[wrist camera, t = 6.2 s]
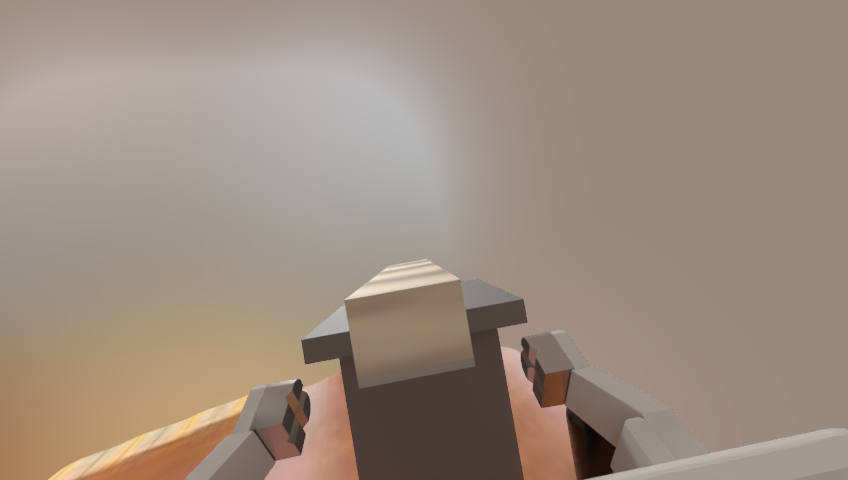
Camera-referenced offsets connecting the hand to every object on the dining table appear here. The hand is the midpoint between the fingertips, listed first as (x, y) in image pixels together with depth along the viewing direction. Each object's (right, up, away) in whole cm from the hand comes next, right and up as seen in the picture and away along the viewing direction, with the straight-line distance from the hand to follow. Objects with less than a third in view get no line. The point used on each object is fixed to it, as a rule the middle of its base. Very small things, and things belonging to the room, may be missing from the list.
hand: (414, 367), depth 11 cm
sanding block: (0, 0, +10) cm, 10 cm away
